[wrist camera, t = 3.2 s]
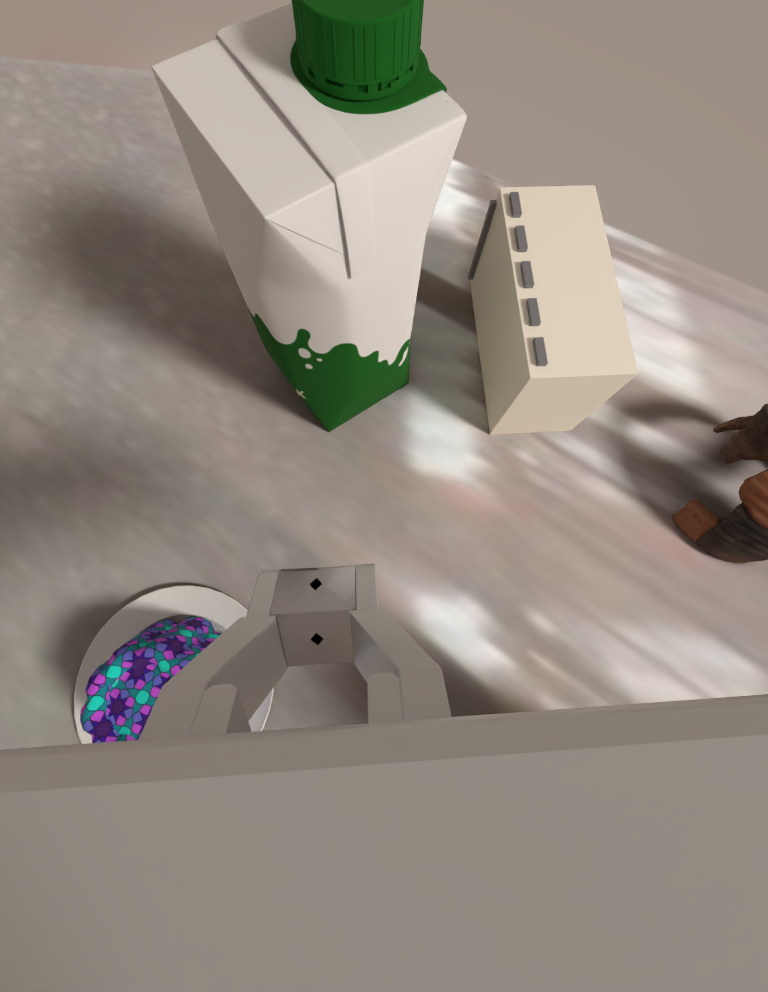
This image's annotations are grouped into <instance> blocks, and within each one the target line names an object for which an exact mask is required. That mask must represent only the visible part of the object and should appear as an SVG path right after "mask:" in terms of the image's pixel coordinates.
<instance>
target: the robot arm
mask: <svg viewBox="0 0 768 992" xmlns="http://www.w3.org/2000/svg"><path fill="white" fill-rule="evenodd" d="M349 662H354V664H355V666H356V667H357V669H358V670H359V672H360V673H361V675H362V676H363V678H364V679H365V681H366V682H367V684H368V723H365V724H351V725H337V726H323V727H310V728H296V729H282V730H268V731H254V732H252V731H251V728H250V725H249V722H248V721H249V720H250V719H251V717H252V716H253V715H254V713H255V712H256V711H257V709H258V708H259V706H260V705H261V704H262V702H263V701H264V700H265V698H266V697H267V696H268V694H269V693H270V692H271V690H272V689H273V687H274V686H275V685H276V683H277V682H278V681H279V679H280V678H281V677H282V675H283V674H284V672H285V671H286V670H287V667H290V666H301V665H311V664H324V663H349ZM0 992H768V694H765V695H751V696H738V697H725V698H711V699H697V700H683V701H669V702H655V703H641V704H627V705H613V706H600V707H586V708H572V709H558V710H544V711H530V712H516V713H502V714H488V715H474V716H460V717H451V712H450V707H449V702H448V697H447V692H446V687H445V683H444V678H443V673H442V668H441V667H440V666H439V665H438V664H437V663H436V662H435V661H434V660H433V659H432V658H431V657H430V656H429V655H428V654H427V653H426V652H425V650H424V649H423V648H422V647H421V646H420V645H419V644H418V643H417V642H416V641H415V640H414V639H413V638H412V637H411V636H410V635H409V634H408V633H407V632H406V631H405V630H404V629H403V628H402V627H401V626H400V625H399V624H398V622H397V621H396V620H395V619H394V618H393V617H392V616H391V615H390V614H389V613H388V612H387V611H386V610H385V609H378V593H377V578H376V566H375V564H363V565H355V566H339V567H324V568H298V569H281V570H262V571H261V572H260V573H259V575H258V578H257V582H256V585H255V588H254V592H253V595H252V598H251V602H250V605H249V609H248V612H247V615H246V617H240V618H239V619H238V620H237V621H236V622H235V623H233V624H232V625H231V626H230V627H229V628H228V629H227V630H225V631H224V632H223V633H222V634H221V635H220V636H219V637H218V638H216V639H215V640H214V641H213V642H212V643H211V644H210V645H208V646H207V647H206V648H205V649H204V650H203V651H202V652H201V653H199V654H198V655H197V656H196V657H195V658H194V659H193V660H192V661H190V662H189V663H188V664H187V665H186V666H185V667H184V668H182V669H181V670H180V671H179V672H178V673H177V674H176V675H175V676H173V677H172V678H171V679H170V680H169V681H168V682H167V683H165V684H164V685H163V686H162V688H161V690H160V693H159V695H158V697H157V699H156V702H155V704H154V706H153V708H152V711H151V713H150V715H149V717H148V720H147V722H146V724H145V727H144V729H143V731H142V733H141V736H140V738H139V740H129V741H115V742H102V743H88V744H74V745H60V746H46V747H33V748H19V749H5V750H0Z"/></svg>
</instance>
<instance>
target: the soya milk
mask: <svg viewBox="0 0 768 992" xmlns="http://www.w3.org/2000/svg"><path fill="white" fill-rule="evenodd" d="M423 3H424V0H292V3H291V4H289V5H286V6H284V7H281V8H279V9H276V10H274V11H271V12H269V13H266V14H264V15H261V16H259V17H257V18H254V19H252V20H249V21H239V22H237V23H234V24H231V25H229V26H226V27H224V28H222V29H220V30H218V31H217V32H216V38H217V39H215V40H213V41H210V42H208V43H206V44H203V45H201V46H198V47H196V48H193V49H191V50H189V51H186V52H184V53H181V54H179V55H177V56H174V57H172V58H169V59H167V60H165V61H162V62H160V63H158V64H155V65H153V66H152V70H153V73H154V75H155V77H156V80H157V82H158V85H159V88H160V90H161V93H162V95H163V98H164V100H165V103H166V105H167V108H168V111H169V113H170V116H171V118H172V121H173V123H174V126H175V128H176V131H177V134H178V136H179V139H180V141H181V144H182V146H183V149H184V152H185V154H186V157H187V159H188V162H189V165H190V167H191V170H192V173H193V175H194V178H195V181H196V183H197V186H198V188H199V191H200V194H201V196H202V199H203V202H204V204H205V207H206V209H207V212H208V215H209V217H210V220H211V222H212V225H213V227H214V230H215V232H216V235H217V237H218V239H219V242H220V244H221V246H222V249H223V251H224V253H225V256H226V258H227V260H228V263H229V265H230V267H231V270H232V272H233V274H234V277H235V279H236V281H237V284H238V286H239V288H240V290H241V293H242V295H243V297H244V300H245V302H246V304H247V307H248V309H249V311H250V314H251V316H252V318H253V321H254V323H255V325H256V328H257V330H258V332H259V335H260V337H261V339H262V341H263V344H264V346H265V348H266V350H267V351H268V353H269V355H270V356H271V358H272V359H273V360H274V362H275V363H276V365H277V366H278V368H279V369H280V371H281V372H282V373H283V375H284V376H285V378H286V379H287V381H288V382H289V384H290V385H291V386H292V388H293V389H294V390H295V391H296V393H297V394H298V395H299V396H300V398H301V399H302V400H303V401H304V402H305V404H306V405H307V406H308V407H309V409H310V410H311V411H312V412H313V413H314V415H315V416H316V417H317V418H318V420H319V421H320V422H321V423H322V425H323V426H324V427H325V428H326V429H327V431H328V432H330V431H331V430H333V429H335V428H336V427H338V426H340V425H341V424H343V423H344V422H346V421H348V420H349V419H351V418H353V417H354V416H356V415H357V414H359V413H361V412H362V411H364V410H366V409H367V408H369V407H371V406H372V405H374V404H375V403H377V402H379V401H380V400H382V399H384V398H385V397H387V396H388V395H390V394H392V393H393V392H395V391H397V390H398V389H400V388H401V387H403V386H405V385H406V384H408V383H409V360H410V339H411V332H412V325H413V318H414V311H415V305H416V298H417V291H418V284H419V278H420V271H421V264H422V257H423V251H424V244H425V238H426V233H427V229H428V227H429V224H430V221H431V218H432V215H433V212H434V209H435V206H436V203H437V201H438V198H439V195H440V192H441V189H442V186H443V184H444V181H445V178H446V175H447V172H448V169H449V167H450V164H451V161H452V158H453V155H454V152H455V150H456V147H457V144H458V141H459V138H460V135H461V133H462V130H463V127H464V124H465V122H466V118H467V117H466V114H465V112H464V111H463V109H462V108H461V107H460V106H459V105H458V104H457V103H456V102H455V101H454V100H452V98H450V97H449V96H448V95H447V94H446V90H447V88H446V86H445V85H444V84H443V83H442V82H441V81H440V80H439V79H438V78H437V77H436V76H435V75H434V74H433V73H431V71H430V70H429V66H428V62H427V59H426V57H425V55H424V53H423V52H422V50H421V49H420V44H421V28H422V16H423Z"/></svg>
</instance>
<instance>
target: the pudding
mask: <svg viewBox="0 0 768 992" xmlns="http://www.w3.org/2000/svg"><path fill="white" fill-rule="evenodd" d="M247 612H248V610H246V609H245V608H244V607H243V606H242V605H241V604H240V603H238V602H237V601H236V600H234V599H232V598H230V597H229V596H227V595H225V594H224V593H221V592H218V591H215V590H212V589H210V588H205V587H199V586H173V587H168V588H163V589H158V590H156V591H153V592H150V593H148V594H145V595H143V596H141V597H139V598H137V599H136V600H134V601H132V602H130V603H129V604H127V605H126V606H125V607H123V608H122V609H121V610H120V611H118V612H117V613H116V614H115V615H113V616H112V617H111V619H110V620H109V621H108V622H107V623H106V624H105V625H104V626H103V627H102V628H101V629H100V631H99V632H98V634H97V635H96V637H95V638H94V640H93V641H92V643H91V644H90V646H89V648H88V650H87V652H86V654H85V656H84V658H83V660H82V663H81V666H80V669H79V673H78V676H77V679H76V686H75V693H74V718H75V723H76V728H77V733H78V736H79V739H80V741H81V744H88V743H102V742H115V741H129V740H139V738H140V736H141V733H142V731H143V729H144V727H145V724H146V722H147V720H148V717H149V715H150V713H151V711H152V708H153V706H154V704H155V702H156V699H157V697H158V695H159V693H160V690H161V688H162V686H163V685H164V684H165V683H167V682H168V681H169V680H170V679H171V678H172V677H173V676H175V675H176V674H177V673H178V672H179V671H180V670H181V669H182V668H184V667H185V666H186V665H187V664H188V663H189V662H190V661H192V660H193V659H194V658H195V657H196V656H197V655H198V654H199V653H201V652H202V651H203V650H204V649H205V648H206V647H207V646H208V645H210V644H211V643H212V642H213V641H214V640H215V639H216V638H218V637H219V636H220V635H221V634H217V633H215V630H214V628H213V626H212V624H211V622H210V621H208V620H206V619H204V618H202V617H189V618H187V619H186V620H184V621H183V622H181V623H179V624H178V623H176V622H173V621H171V620H168V619H167V620H163V621H160V622H156V621H159V620H161V619H164V618H167V617H171V616H175V615H187V614H191V615H198V616H203V617H206V618H208V619H211V620H213V621H215V622H217V623H218V624H220V625H222V626H223V627H224V628H225V629H226V630H227V629H228V628H229V627H230V626H231V625H232V624H233V623H235V622H236V621H237V620H238V619H239V618H240V617H246V615H247ZM155 622H156V623H155ZM153 623H155V624H153ZM151 624H153V625H152V626H150V625H151ZM148 626H150V627H149V628H147V629H146V630H144V629H145V628H146V627H148ZM142 630H144V631H143V632H141V631H142ZM140 632H141V633H140ZM139 633H140V634H139ZM136 635H137V636H136ZM135 636H136V637H135ZM273 692H274V687H273V689H272V690H271V692H270V693H269V694H268V696H267V697H266V698H265V700H264V701H263V702H262V704H261V705H260V706H259V708H258V709H257V711H256V712H255V713H254V715H253V716H252V717H251V719H250V720H249V721H248V722H249V725H250V728H251V731H252V732H254V731H262V730H263V728H264V725H265V722H266V719H267V717H268V714H269V711H270V707H271V702H272V697H273Z"/></svg>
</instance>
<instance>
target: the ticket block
mask: <svg viewBox="0 0 768 992" xmlns="http://www.w3.org/2000/svg"><path fill="white" fill-rule="evenodd" d="M468 279H471V282H470V286H471V294H472V302H473V309H474V317H475V325H476V332H477V340H478V348H479V355H480V363H481V371H482V378H483V386H484V394H485V402H486V409H487V417H488V425H489V432H490V434H510V433H531V432H552V431H570V430H572V429H573V428H574V427H575V426H576V425H578V424H579V423H580V422H581V421H582V420H583V419H585V418H586V417H587V416H588V415H589V414H591V413H592V412H593V411H594V410H595V409H597V408H598V407H599V406H600V405H601V404H603V403H604V402H605V401H606V400H607V399H609V398H610V397H611V396H612V395H613V394H615V393H616V392H617V391H618V390H619V389H620V388H622V387H623V386H624V385H625V384H626V383H628V382H629V381H630V380H631V379H632V378H634V377H635V376H636V375H637V374H638V372H637V368H636V363H635V359H634V354H633V350H632V346H631V341H630V337H629V332H628V328H627V324H626V319H625V315H624V310H623V306H622V302H621V297H620V293H619V288H618V284H617V280H616V275H615V271H614V267H613V262H612V258H611V253H610V249H609V245H608V240H607V236H606V231H605V227H604V223H603V218H602V214H601V209H600V205H599V201H598V196H597V192H596V187H595V186H550V187H506V188H500V189H499V192H498V195H497V199H496V200H491V202H490V205H489V208H488V212H487V215H486V218H485V222H484V225H483V228H482V232H481V235H480V238H479V242H478V245H477V248H476V252H475V255H474V258H473V262H472V265H471V268H470V272H469V275H468Z"/></svg>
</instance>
